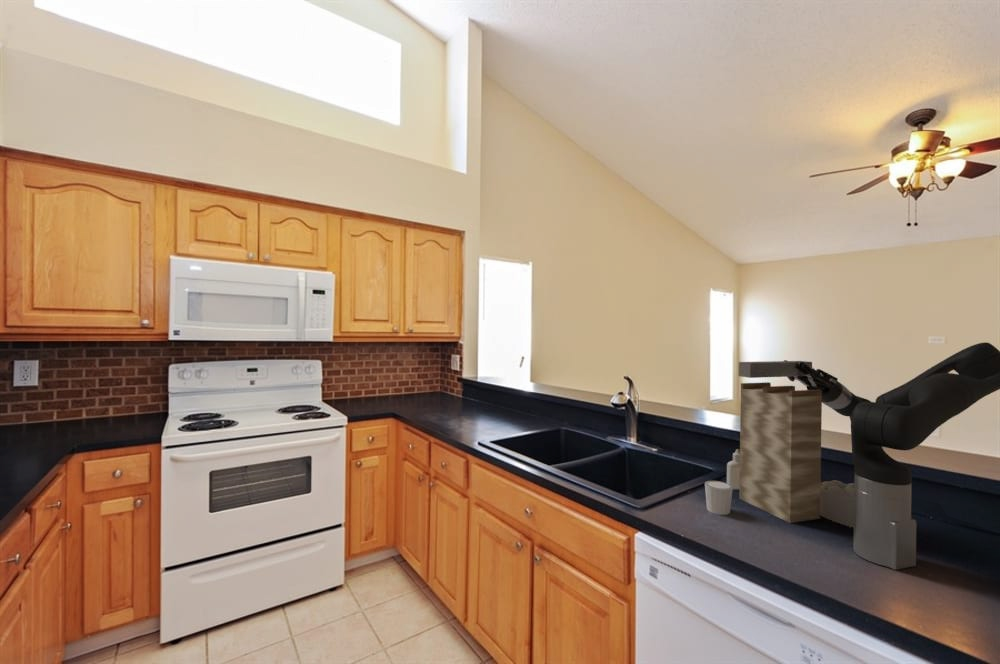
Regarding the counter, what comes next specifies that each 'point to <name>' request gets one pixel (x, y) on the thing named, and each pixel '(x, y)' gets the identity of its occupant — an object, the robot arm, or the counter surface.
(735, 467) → the eye dropper bottle
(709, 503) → the white tapered cup
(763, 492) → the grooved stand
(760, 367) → the metal bar
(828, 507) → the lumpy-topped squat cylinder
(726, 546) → the counter surface
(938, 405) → the robot arm
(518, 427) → the counter surface
